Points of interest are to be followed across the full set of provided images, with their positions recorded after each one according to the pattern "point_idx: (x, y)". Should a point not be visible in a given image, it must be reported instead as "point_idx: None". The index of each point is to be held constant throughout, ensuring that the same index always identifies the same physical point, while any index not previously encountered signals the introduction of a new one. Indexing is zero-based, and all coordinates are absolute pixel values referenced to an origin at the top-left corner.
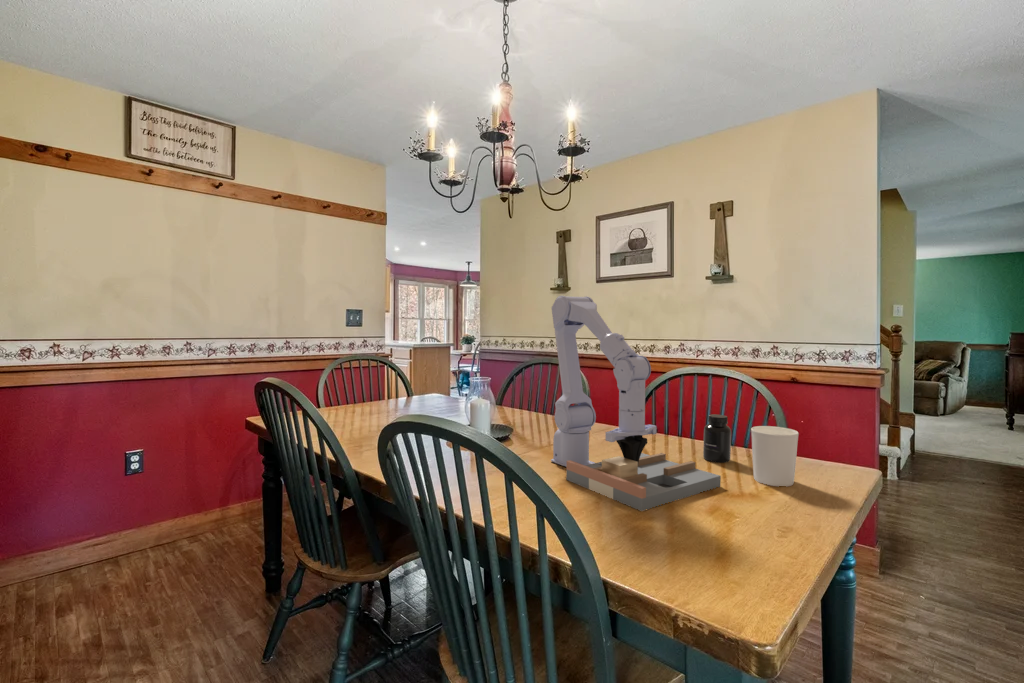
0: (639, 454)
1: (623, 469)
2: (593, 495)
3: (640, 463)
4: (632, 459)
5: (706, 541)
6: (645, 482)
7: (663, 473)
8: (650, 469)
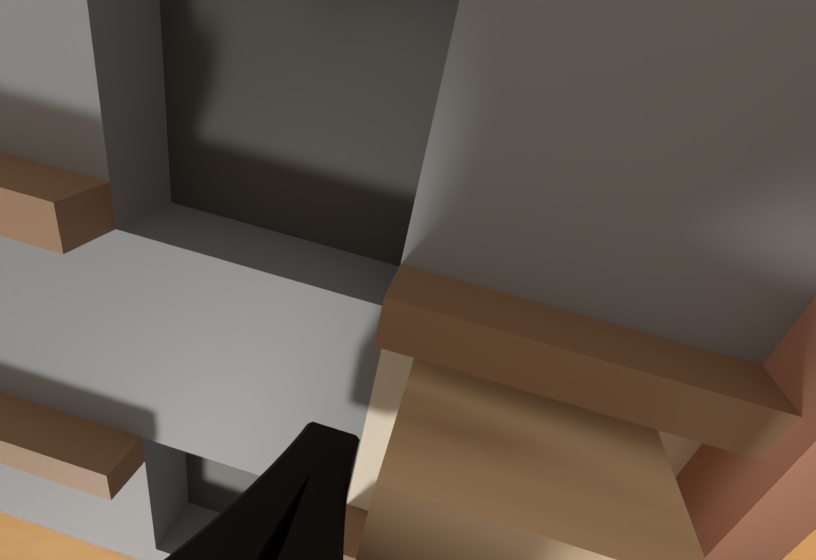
0: (221, 548)
1: (634, 514)
2: None
3: (106, 444)
4: (341, 542)
5: None
6: (440, 260)
7: (97, 240)
8: (118, 354)
